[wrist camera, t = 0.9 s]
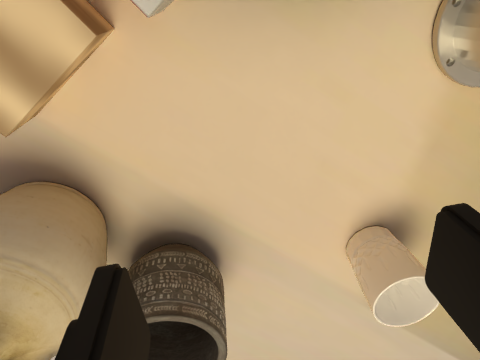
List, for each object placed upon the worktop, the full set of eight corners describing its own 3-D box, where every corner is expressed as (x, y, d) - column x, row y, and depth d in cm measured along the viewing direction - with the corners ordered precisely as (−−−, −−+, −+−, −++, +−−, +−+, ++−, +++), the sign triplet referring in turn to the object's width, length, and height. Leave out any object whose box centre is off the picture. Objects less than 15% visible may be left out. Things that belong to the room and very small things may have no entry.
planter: (174, 313, 50) (166, 406, 38) (109, 266, 44) (77, 358, 33) (240, 269, 47) (251, 355, 36) (178, 214, 42) (168, 295, 30)
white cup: (386, 211, 44) (431, 265, 36) (405, 250, 48) (450, 307, 39) (332, 240, 46) (362, 298, 37) (354, 275, 49) (386, 336, 41)
